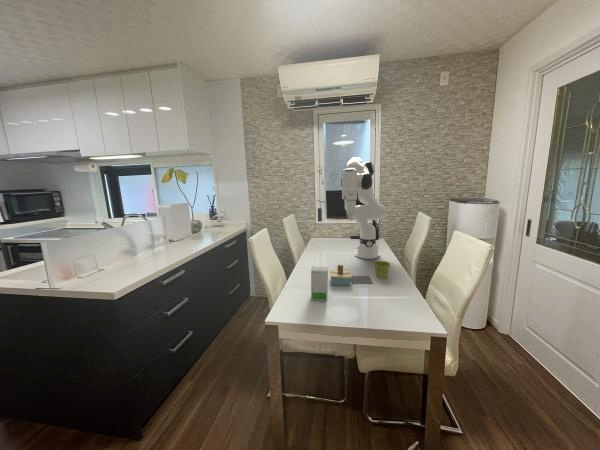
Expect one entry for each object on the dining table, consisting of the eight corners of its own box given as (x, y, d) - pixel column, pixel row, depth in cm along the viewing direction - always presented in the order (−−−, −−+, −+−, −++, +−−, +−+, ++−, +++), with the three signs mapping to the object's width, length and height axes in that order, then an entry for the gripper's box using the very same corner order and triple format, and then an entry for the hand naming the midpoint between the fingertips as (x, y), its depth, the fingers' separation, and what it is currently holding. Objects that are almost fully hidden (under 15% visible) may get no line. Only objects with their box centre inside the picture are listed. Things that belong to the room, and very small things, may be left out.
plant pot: (391, 281, 143) (391, 266, 142) (373, 280, 145) (374, 265, 144) (388, 274, 152) (389, 261, 151) (372, 274, 154) (372, 260, 153)
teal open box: (331, 279, 148) (330, 271, 147) (348, 279, 148) (348, 271, 147) (332, 286, 138) (332, 278, 137) (350, 286, 138) (350, 278, 137)
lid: (330, 271, 148) (330, 262, 147) (348, 271, 147) (348, 262, 146) (331, 278, 137) (331, 269, 136) (351, 278, 136) (351, 268, 135)
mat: (348, 276, 151) (348, 275, 151) (369, 276, 151) (369, 275, 150) (351, 285, 140) (351, 284, 140) (373, 285, 139) (373, 284, 139)
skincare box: (310, 300, 123) (310, 270, 121) (312, 294, 130) (311, 265, 127) (327, 301, 122) (327, 271, 120) (328, 295, 129) (327, 266, 126)
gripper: (342, 194, 160) (342, 215, 163) (346, 197, 140) (346, 221, 143) (352, 194, 160) (352, 215, 163) (357, 197, 140) (357, 221, 143)
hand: (349, 218), depth 153 cm, fingers open, 8 cm apart
